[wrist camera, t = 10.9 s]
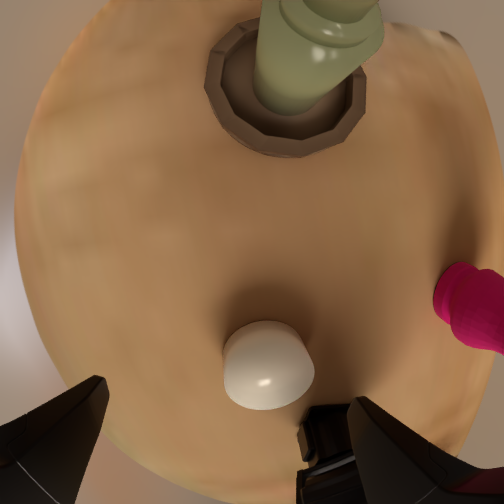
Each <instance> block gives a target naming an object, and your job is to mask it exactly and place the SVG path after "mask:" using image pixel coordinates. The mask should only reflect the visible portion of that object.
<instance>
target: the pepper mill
mask: <svg viewBox="0 0 504 504" xmlns="http://www.w3.org/2000/svg"><path fill="white" fill-rule="evenodd" d="M433 305H434V310H435V312H436V314H437V315H438V316H439V317H440V318H441V319H442V320H444V321H445V322H446V323H447V324H450V325H451V329H452V332H453V334H454V336H455V337H456V338H457V339H458V340H459V341H461V342H462V343H464V344H465V345H467V346H470V347H473V348H478V349H486V350H493V351H496V352H498V353H501V354H502V355H504V278H503V277H502V276H501V275H499V274H498V273H496V272H495V271H493V270H490V269H482V270H478V269H477V268H476V267H474V266H472V265H470V264H468V263H465V262H458V263H455V264H454V265H452V266H450V267H449V268H448V269H447V270H446V271H445V272H444V274H443V275H442V277H441V278H440V280H439V282H438V284H437V286H436V290H435V293H434V300H433Z"/></svg>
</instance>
